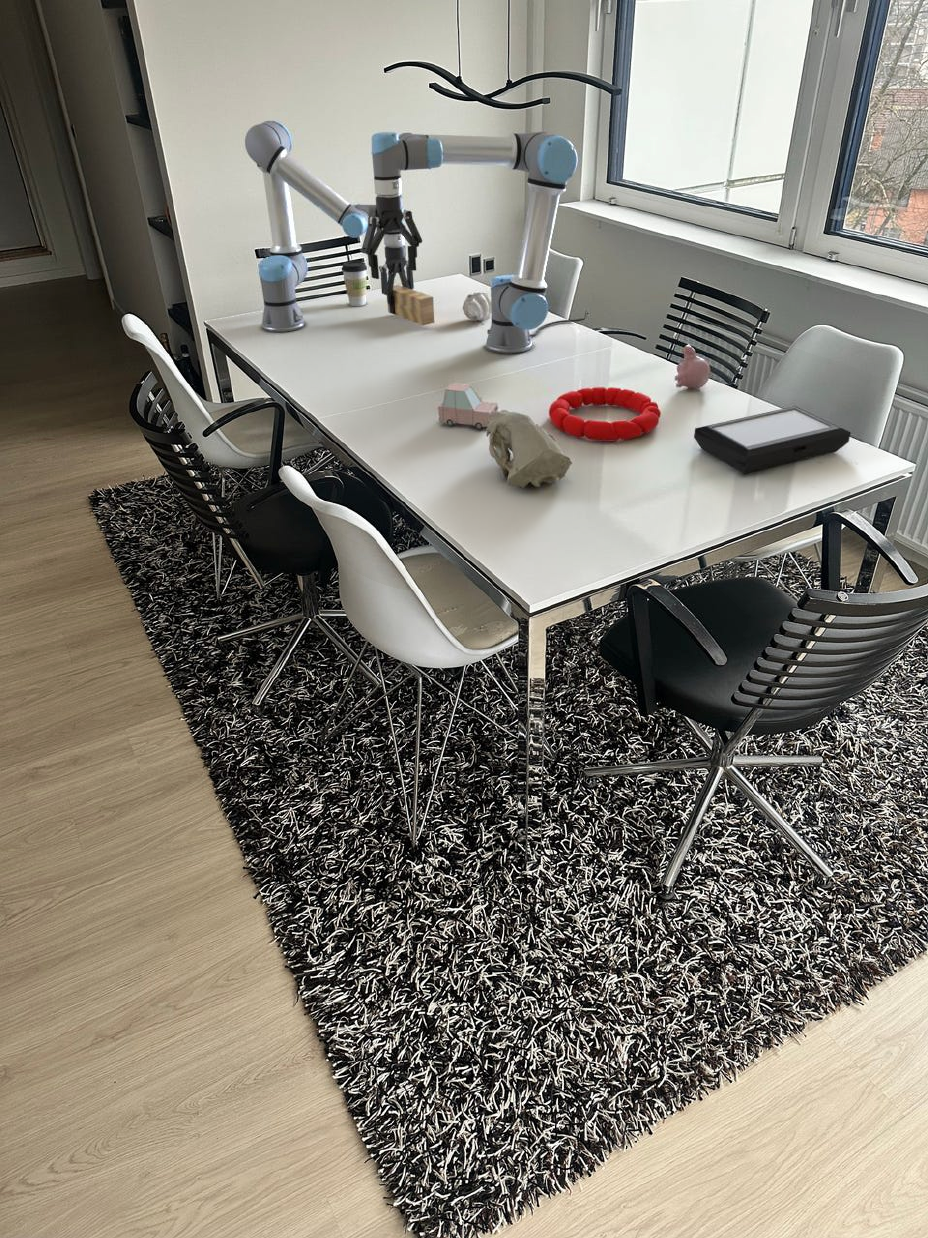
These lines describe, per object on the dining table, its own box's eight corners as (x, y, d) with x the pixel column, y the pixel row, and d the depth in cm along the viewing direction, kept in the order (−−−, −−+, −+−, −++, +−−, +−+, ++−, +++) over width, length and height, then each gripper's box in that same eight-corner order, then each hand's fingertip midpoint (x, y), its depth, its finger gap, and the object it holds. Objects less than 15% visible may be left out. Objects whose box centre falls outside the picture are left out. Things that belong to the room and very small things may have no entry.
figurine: (665, 387, 264) (669, 347, 257) (693, 380, 268) (698, 340, 261) (686, 396, 257) (690, 355, 250) (714, 388, 262) (720, 348, 255)
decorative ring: (589, 435, 224) (684, 402, 234) (527, 398, 247) (617, 369, 256) (589, 461, 229) (683, 427, 238) (529, 422, 251) (617, 393, 260)
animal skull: (496, 517, 219) (521, 479, 201) (463, 429, 225) (484, 384, 207) (557, 503, 225) (586, 465, 206) (523, 417, 231) (549, 373, 212)
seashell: (455, 320, 326) (454, 292, 321) (490, 313, 332) (490, 286, 326) (468, 327, 319) (468, 298, 313) (504, 320, 325) (504, 292, 319)
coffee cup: (368, 306, 344) (365, 266, 336) (343, 307, 345) (339, 267, 336) (371, 300, 352) (368, 260, 344) (346, 300, 353) (342, 260, 344)
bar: (388, 312, 333) (386, 287, 328) (399, 309, 335) (398, 284, 330) (422, 325, 318) (420, 299, 313) (434, 322, 320) (433, 296, 315)
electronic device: (746, 454, 209) (695, 425, 224) (742, 478, 212) (692, 448, 228) (851, 429, 219) (795, 402, 234) (846, 452, 223) (791, 425, 238)
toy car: (488, 432, 240) (488, 396, 234) (436, 426, 244) (434, 390, 239) (499, 419, 247) (499, 384, 241) (448, 413, 252) (447, 379, 246)
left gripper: (378, 251, 311) (384, 318, 324) (421, 243, 320) (425, 308, 333) (367, 247, 316) (373, 314, 329) (410, 239, 325) (414, 304, 338)
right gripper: (359, 202, 241) (366, 283, 253) (431, 190, 254) (435, 268, 266) (344, 199, 246) (351, 279, 258) (415, 187, 259) (419, 264, 271)
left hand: (399, 311), depth 331 cm, fingers closed on bar, 5 cm apart
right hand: (394, 273), depth 262 cm, fingers open, 13 cm apart
